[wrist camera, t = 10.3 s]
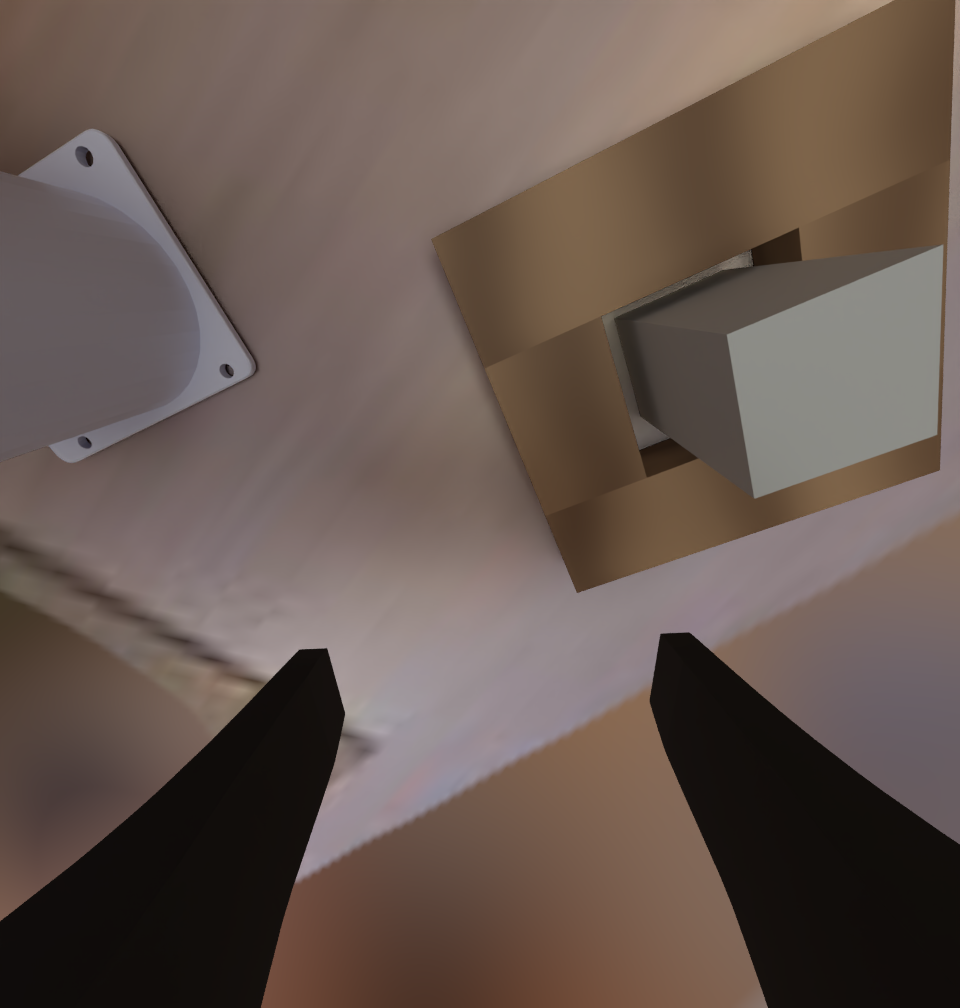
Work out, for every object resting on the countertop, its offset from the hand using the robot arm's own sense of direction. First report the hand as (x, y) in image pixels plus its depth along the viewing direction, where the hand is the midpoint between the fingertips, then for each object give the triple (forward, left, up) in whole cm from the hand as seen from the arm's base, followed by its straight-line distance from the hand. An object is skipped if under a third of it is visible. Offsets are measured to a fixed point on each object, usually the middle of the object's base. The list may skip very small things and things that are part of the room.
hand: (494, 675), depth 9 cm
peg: (+9, +2, -10) cm, 14 cm away
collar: (+9, +2, -10) cm, 14 cm away
